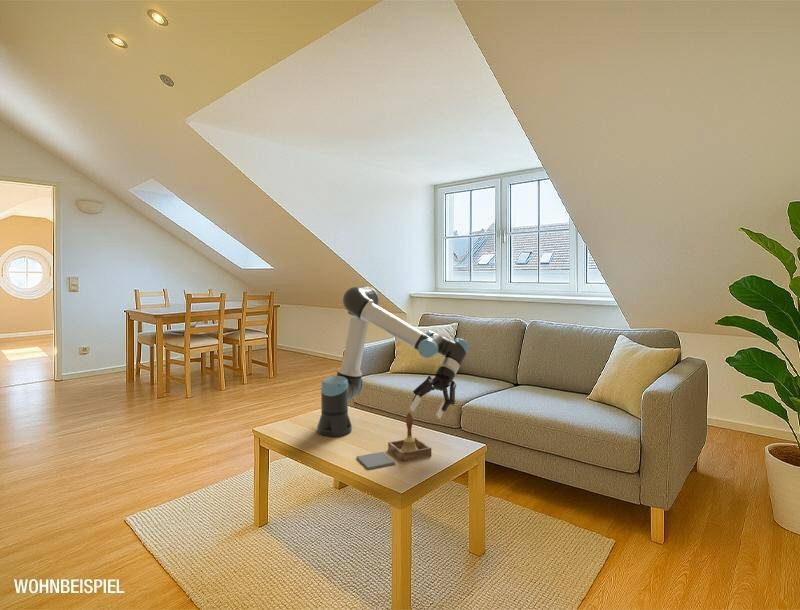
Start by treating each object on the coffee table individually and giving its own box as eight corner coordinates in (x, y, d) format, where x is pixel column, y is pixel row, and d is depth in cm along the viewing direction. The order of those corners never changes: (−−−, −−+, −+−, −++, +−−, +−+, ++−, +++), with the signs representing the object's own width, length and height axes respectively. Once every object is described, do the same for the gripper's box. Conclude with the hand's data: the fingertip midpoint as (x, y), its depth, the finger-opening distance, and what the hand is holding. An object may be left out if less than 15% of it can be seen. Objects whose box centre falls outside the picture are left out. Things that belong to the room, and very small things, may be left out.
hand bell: (402, 457, 181) (402, 417, 180) (396, 449, 189) (397, 410, 187) (422, 455, 183) (423, 415, 182) (416, 447, 191) (416, 409, 190)
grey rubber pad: (356, 458, 179) (356, 456, 179) (382, 453, 184) (382, 451, 184) (367, 469, 170) (367, 467, 170) (395, 464, 175) (395, 462, 175)
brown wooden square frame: (388, 449, 189) (388, 442, 188) (415, 444, 194) (415, 437, 194) (402, 461, 177) (402, 453, 177) (431, 455, 183) (431, 448, 183)
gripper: (475, 380, 193) (453, 425, 183) (428, 371, 210) (405, 411, 200) (468, 370, 189) (445, 415, 179) (420, 361, 206) (397, 402, 196)
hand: (424, 413), depth 190 cm, fingers open, 13 cm apart
